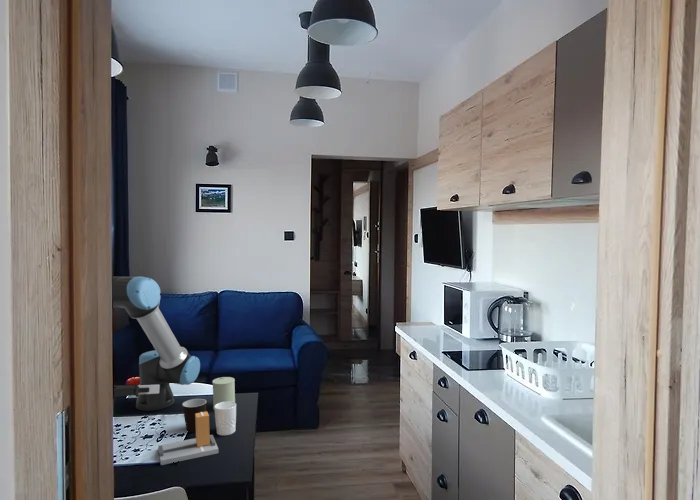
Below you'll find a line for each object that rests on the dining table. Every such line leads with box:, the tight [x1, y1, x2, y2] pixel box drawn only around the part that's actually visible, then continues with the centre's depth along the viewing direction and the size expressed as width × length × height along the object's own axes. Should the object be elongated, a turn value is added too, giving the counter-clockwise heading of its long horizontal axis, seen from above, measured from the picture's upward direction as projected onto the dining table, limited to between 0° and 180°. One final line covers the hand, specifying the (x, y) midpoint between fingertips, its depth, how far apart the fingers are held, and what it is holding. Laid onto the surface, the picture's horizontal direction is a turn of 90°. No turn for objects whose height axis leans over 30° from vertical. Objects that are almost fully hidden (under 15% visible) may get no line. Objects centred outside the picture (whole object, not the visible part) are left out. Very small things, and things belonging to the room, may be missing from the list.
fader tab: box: [195, 411, 211, 447], centre depth 162 cm, size 4×4×10 cm
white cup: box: [213, 401, 237, 436], centre depth 175 cm, size 8×8×10 cm
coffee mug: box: [182, 398, 208, 433], centre depth 180 cm, size 12×9×10 cm
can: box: [211, 376, 236, 411], centre depth 200 cm, size 9×9×12 cm
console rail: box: [157, 434, 219, 466], centre depth 160 cm, size 12×18×2 cm, turn 115°
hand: (158, 388), depth 159 cm, fingers closed
